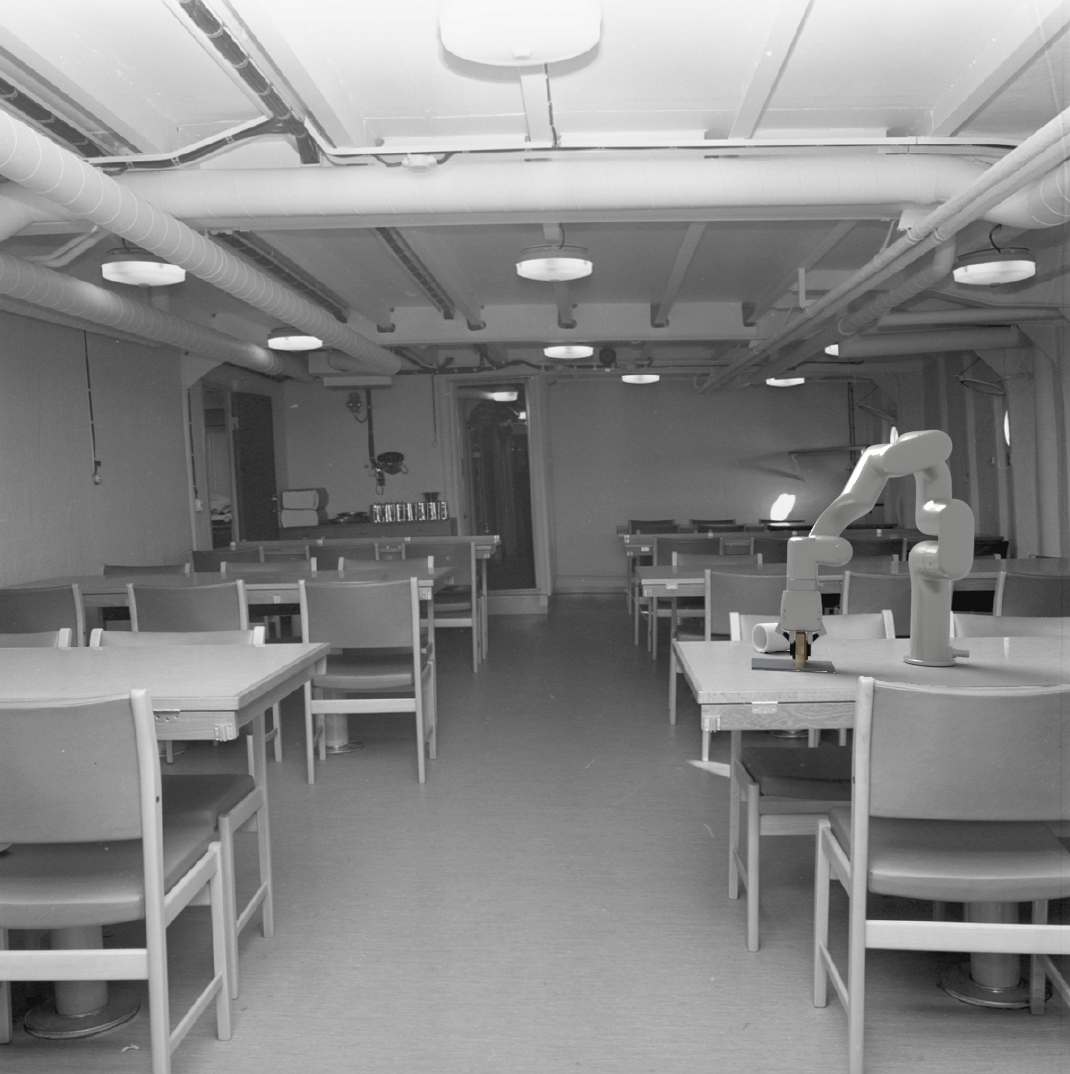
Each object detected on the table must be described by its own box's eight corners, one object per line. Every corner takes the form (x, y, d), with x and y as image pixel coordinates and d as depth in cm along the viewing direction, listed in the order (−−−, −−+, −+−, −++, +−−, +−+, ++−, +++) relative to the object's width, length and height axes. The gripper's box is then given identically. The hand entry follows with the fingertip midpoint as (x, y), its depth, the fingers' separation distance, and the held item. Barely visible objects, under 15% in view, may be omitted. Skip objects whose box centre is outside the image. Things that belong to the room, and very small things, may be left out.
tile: (804, 661, 254) (804, 630, 254) (805, 667, 245) (806, 635, 245) (794, 661, 255) (795, 630, 254) (795, 667, 246) (796, 635, 246)
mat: (831, 663, 255) (831, 661, 255) (835, 673, 242) (836, 670, 242) (751, 660, 260) (751, 657, 259) (751, 669, 246) (751, 666, 246)
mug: (798, 653, 272) (799, 624, 272) (768, 655, 269) (768, 625, 268) (771, 646, 284) (772, 618, 283) (742, 648, 280) (742, 620, 279)
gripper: (834, 585, 251) (832, 658, 252) (768, 583, 255) (766, 655, 255) (836, 588, 244) (834, 663, 245) (769, 586, 247) (767, 659, 248)
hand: (800, 658), depth 250 cm, fingers closed on tile, 2 cm apart
